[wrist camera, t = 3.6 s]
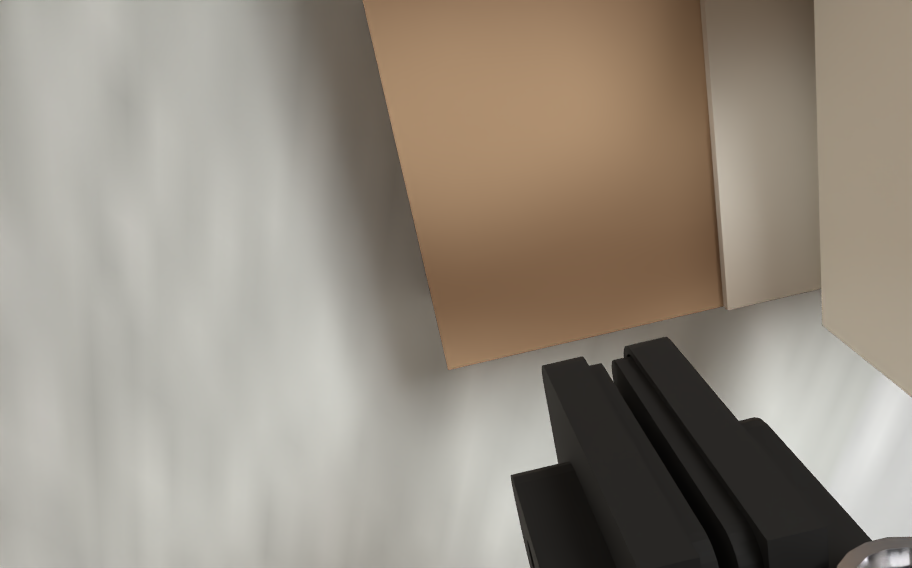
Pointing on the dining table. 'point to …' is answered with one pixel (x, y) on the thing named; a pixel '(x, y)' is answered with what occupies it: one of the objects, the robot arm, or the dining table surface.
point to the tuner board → (601, 160)
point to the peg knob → (866, 178)
